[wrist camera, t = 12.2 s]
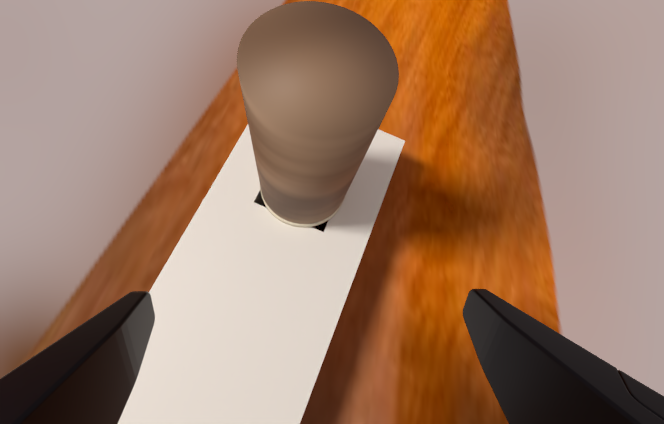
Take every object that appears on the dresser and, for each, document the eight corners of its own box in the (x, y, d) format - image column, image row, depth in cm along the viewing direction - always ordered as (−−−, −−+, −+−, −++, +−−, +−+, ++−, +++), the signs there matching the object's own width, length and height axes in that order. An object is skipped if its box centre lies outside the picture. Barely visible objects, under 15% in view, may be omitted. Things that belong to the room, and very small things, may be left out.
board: (268, 485, 18) (264, 517, 15) (101, 414, 18) (66, 432, 15) (391, 160, 25) (404, 140, 22) (273, 109, 25) (271, 83, 22)
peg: (349, 224, 23) (424, 115, 10) (275, 246, 21) (261, 153, 9) (325, 158, 24) (367, -9, 12) (254, 176, 23) (217, 11, 10)
